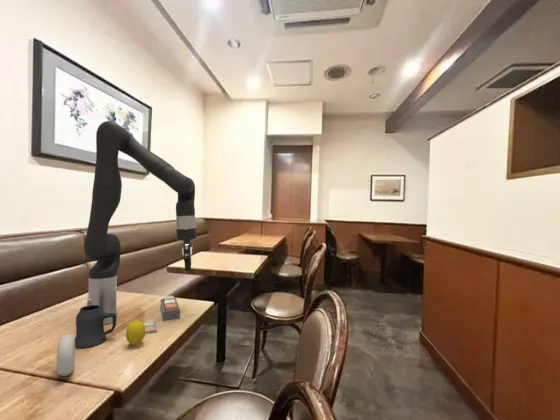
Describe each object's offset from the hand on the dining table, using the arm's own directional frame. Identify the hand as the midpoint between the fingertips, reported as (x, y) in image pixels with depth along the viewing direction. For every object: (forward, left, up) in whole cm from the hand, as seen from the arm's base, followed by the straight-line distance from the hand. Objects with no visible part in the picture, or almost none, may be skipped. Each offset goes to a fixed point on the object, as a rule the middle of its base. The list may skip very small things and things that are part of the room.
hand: (188, 268), depth 112 cm
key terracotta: (-6, +5, -18) cm, 19 cm away
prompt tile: (-14, -3, -20) cm, 25 cm away
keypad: (-6, +10, -20) cm, 23 cm away
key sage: (-6, +15, -18) cm, 24 cm away
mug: (-30, -7, -20) cm, 37 cm away
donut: (-34, -25, -20) cm, 47 cm away
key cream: (-6, +10, -18) cm, 21 cm away
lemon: (-18, -15, -20) cm, 31 cm away
